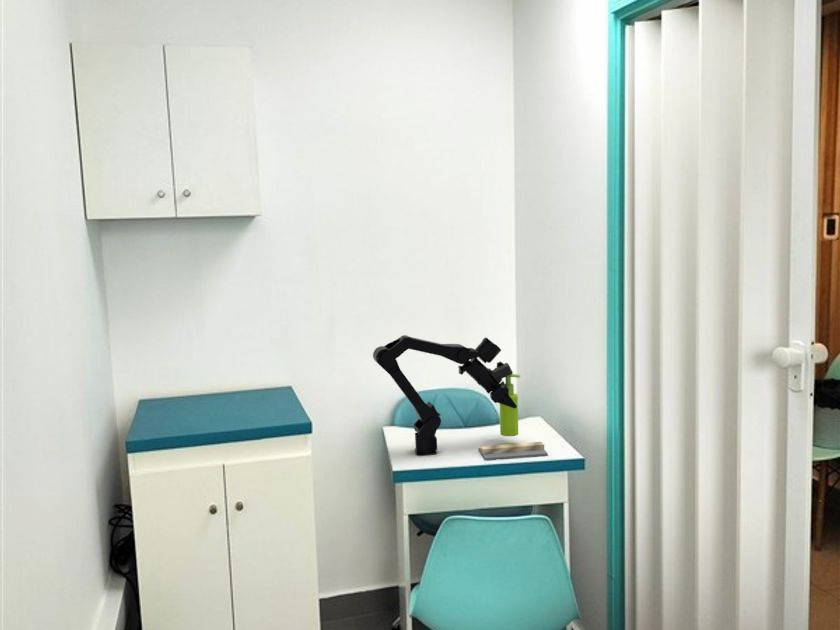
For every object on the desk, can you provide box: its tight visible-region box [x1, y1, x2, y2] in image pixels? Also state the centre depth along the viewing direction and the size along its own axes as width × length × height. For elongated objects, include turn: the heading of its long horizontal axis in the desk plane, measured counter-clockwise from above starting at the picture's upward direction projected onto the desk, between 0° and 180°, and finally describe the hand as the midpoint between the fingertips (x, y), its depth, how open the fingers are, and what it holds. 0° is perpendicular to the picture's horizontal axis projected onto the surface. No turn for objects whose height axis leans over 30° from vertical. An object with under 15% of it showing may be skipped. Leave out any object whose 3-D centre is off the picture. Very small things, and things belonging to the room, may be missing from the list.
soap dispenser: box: [499, 373, 521, 437], centre depth 249 cm, size 6×7×20 cm
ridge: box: [479, 441, 545, 455], centre depth 241 cm, size 20×4×2 cm, turn 96°
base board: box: [477, 447, 549, 461], centre depth 241 cm, size 20×11×1 cm, turn 96°
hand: (514, 405), depth 249 cm, fingers closed on soap dispenser, 6 cm apart
